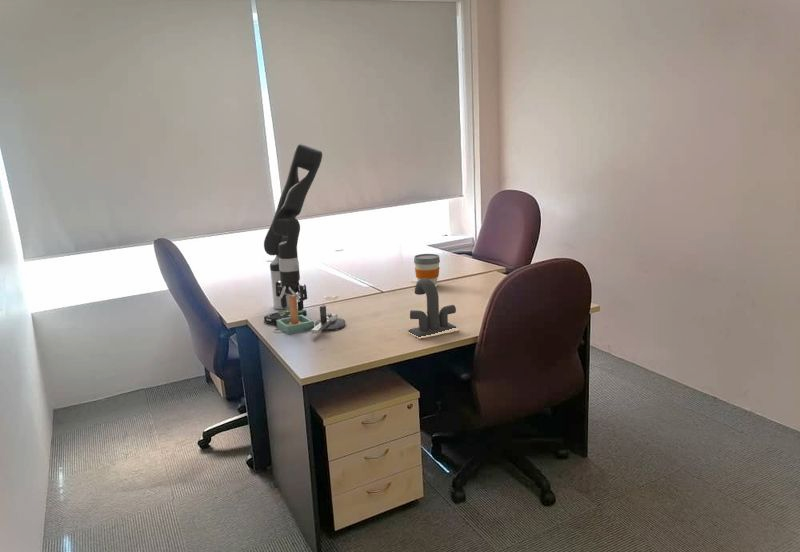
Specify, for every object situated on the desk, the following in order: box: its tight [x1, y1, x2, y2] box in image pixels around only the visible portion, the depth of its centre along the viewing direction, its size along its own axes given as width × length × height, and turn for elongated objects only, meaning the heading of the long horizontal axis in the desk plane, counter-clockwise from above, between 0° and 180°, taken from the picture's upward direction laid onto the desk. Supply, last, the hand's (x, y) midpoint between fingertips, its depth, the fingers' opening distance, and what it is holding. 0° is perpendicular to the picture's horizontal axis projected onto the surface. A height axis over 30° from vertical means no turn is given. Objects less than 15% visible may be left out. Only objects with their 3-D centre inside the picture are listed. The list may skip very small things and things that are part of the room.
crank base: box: [314, 317, 347, 332], centre depth 231 cm, size 12×12×2 cm
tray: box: [276, 315, 315, 335], centre depth 230 cm, size 11×11×3 cm
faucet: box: [407, 278, 457, 337], centre depth 220 cm, size 18×16×20 cm
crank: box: [310, 304, 339, 335], centre depth 225 cm, size 20×5×8 cm, turn 164°
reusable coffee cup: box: [413, 253, 441, 285], centre depth 283 cm, size 12×13×15 cm
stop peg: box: [289, 295, 301, 326], centre depth 229 cm, size 4×4×12 cm
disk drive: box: [263, 308, 308, 326], centre depth 240 cm, size 10×3×15 cm
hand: (292, 308), depth 228 cm, fingers open, 8 cm apart
